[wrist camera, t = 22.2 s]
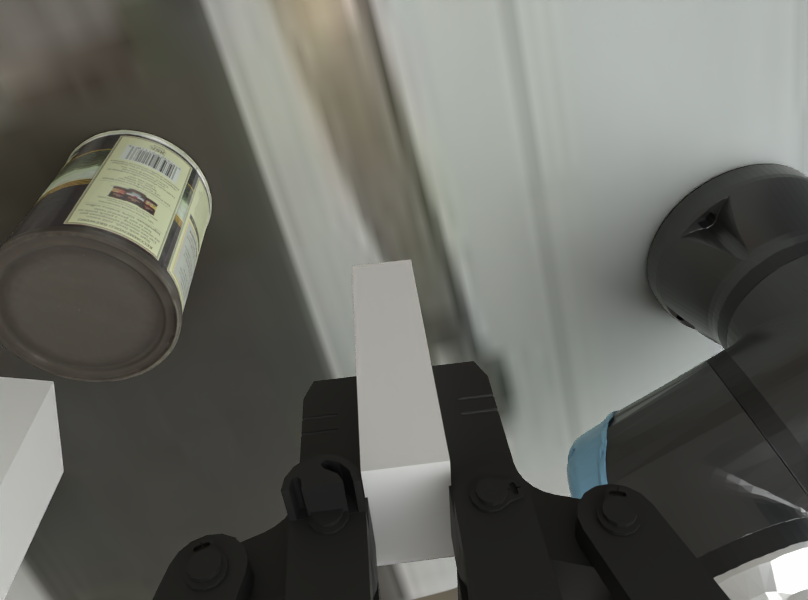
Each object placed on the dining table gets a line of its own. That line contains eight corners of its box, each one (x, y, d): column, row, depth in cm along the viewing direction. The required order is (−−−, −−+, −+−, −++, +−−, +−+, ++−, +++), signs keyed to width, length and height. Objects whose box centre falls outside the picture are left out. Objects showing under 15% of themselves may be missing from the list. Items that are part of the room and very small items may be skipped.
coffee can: (78, 255, 48) (3, 383, 36) (48, 123, 42) (-51, 227, 31) (217, 260, 49) (188, 384, 38) (208, 133, 43) (170, 236, 32)
